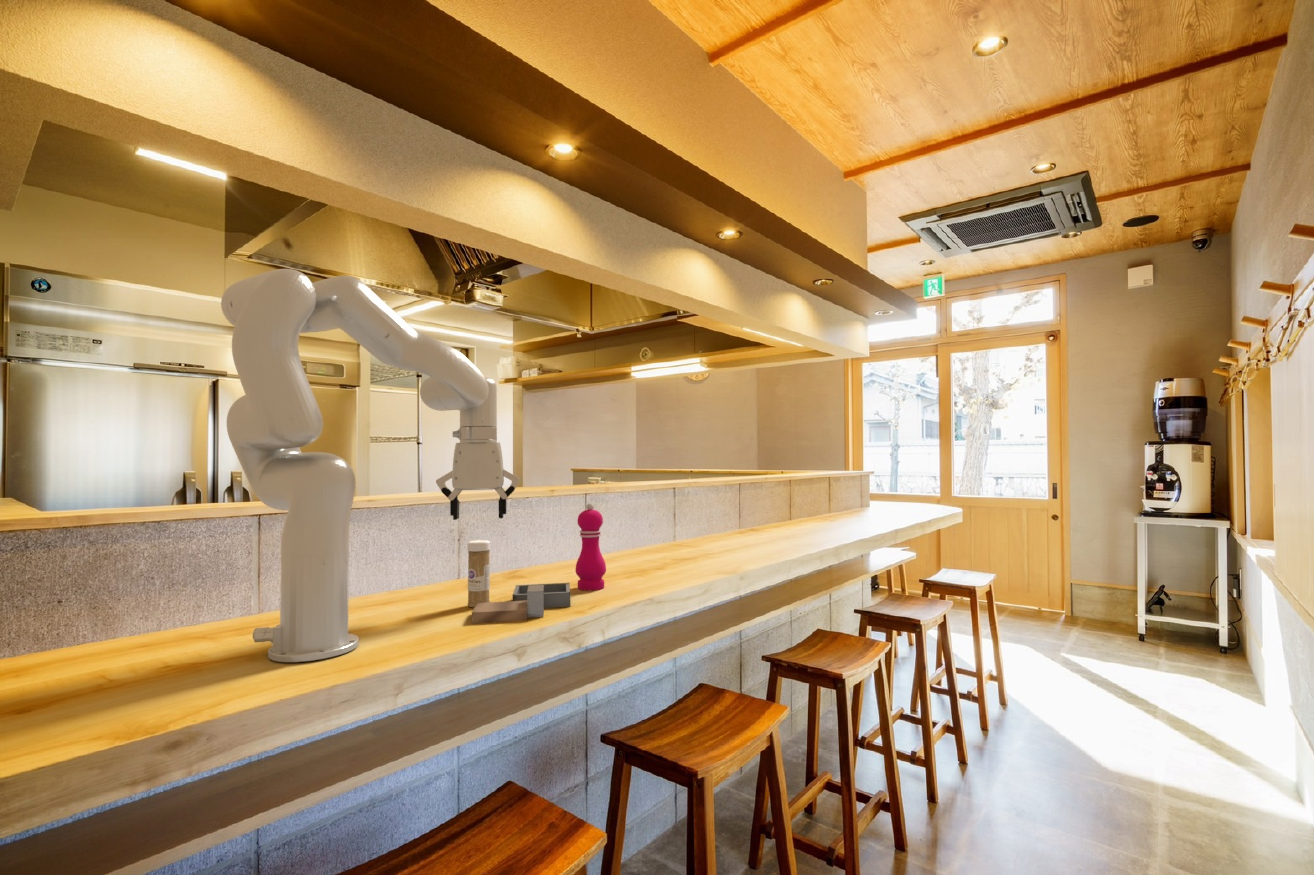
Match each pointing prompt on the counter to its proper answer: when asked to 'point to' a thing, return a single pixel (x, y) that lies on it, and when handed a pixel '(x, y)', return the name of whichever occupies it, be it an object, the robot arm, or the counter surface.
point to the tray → (547, 594)
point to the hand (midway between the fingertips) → (478, 518)
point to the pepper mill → (590, 551)
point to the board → (499, 612)
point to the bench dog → (535, 601)
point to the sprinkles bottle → (478, 572)
